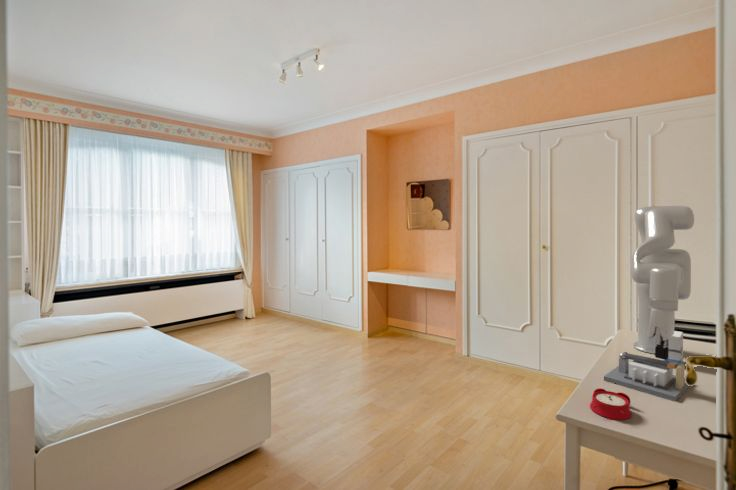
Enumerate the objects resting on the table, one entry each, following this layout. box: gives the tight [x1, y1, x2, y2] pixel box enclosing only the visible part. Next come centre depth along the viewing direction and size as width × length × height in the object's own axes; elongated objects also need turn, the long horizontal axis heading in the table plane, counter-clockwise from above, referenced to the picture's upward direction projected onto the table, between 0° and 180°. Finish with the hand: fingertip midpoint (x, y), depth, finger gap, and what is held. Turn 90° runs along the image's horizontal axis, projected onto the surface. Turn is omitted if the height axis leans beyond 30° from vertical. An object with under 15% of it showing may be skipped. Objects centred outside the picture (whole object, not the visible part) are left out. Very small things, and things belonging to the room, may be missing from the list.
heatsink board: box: [603, 357, 690, 402], centre depth 130 cm, size 18×20×8 cm
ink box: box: [663, 330, 684, 365], centre depth 145 cm, size 9×5×12 cm, turn 135°
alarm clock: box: [589, 387, 632, 421], centre depth 114 cm, size 10×6×15 cm
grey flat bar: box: [619, 351, 678, 370], centre depth 130 cm, size 16×4×2 cm, turn 37°
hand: (661, 357), depth 127 cm, fingers closed
